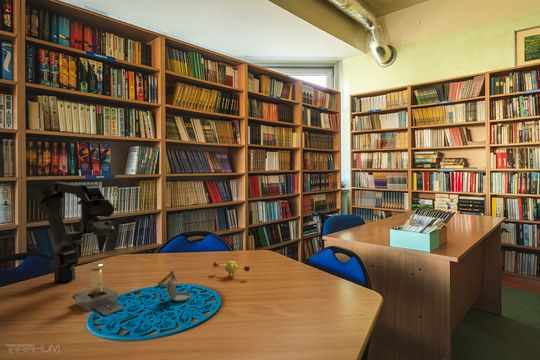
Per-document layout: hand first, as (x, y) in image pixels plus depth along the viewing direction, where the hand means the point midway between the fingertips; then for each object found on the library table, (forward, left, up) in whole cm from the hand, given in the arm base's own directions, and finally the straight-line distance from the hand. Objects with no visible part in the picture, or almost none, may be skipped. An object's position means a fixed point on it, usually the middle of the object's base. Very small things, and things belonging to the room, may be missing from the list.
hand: (90, 254), depth 125 cm
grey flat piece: (+9, -17, -13) cm, 23 cm away
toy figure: (+56, +4, -13) cm, 58 cm away
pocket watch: (+37, -18, -13) cm, 43 cm away
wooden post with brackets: (+30, -1, -13) cm, 32 cm away
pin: (+9, -17, -13) cm, 23 cm away
